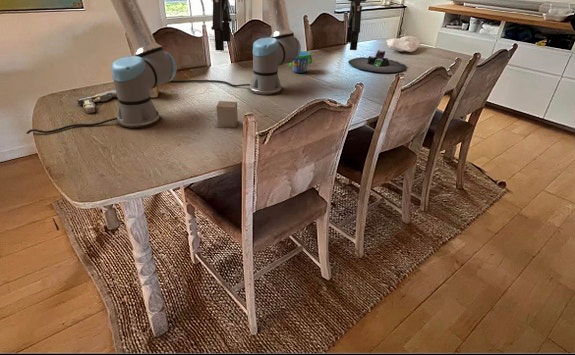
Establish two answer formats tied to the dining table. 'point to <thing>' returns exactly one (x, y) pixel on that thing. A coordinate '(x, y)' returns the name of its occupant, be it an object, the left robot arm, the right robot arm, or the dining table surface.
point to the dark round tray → (377, 63)
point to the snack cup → (301, 62)
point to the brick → (227, 114)
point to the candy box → (154, 92)
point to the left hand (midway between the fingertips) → (223, 45)
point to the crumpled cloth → (404, 44)
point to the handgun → (95, 100)
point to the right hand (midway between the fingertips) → (351, 46)
